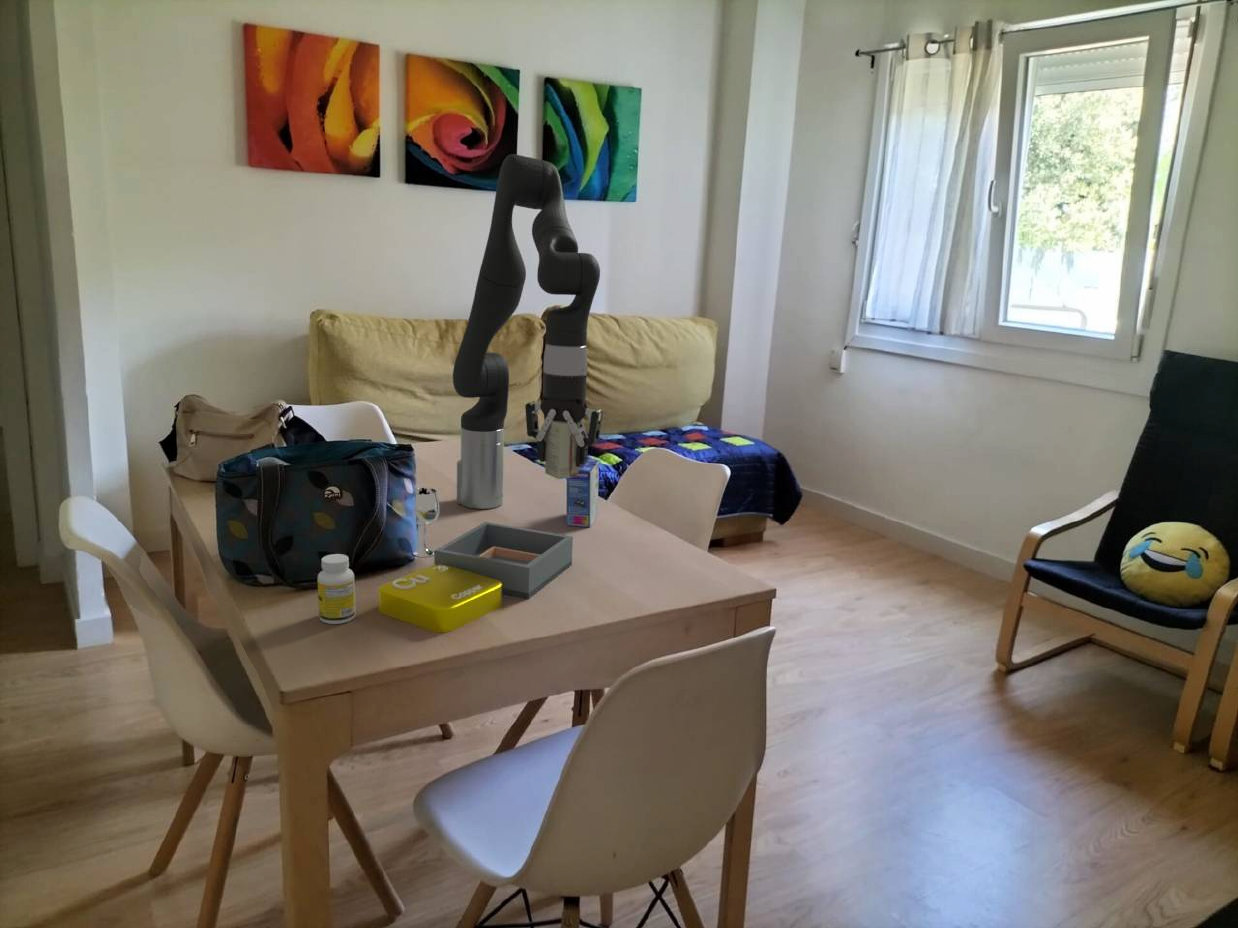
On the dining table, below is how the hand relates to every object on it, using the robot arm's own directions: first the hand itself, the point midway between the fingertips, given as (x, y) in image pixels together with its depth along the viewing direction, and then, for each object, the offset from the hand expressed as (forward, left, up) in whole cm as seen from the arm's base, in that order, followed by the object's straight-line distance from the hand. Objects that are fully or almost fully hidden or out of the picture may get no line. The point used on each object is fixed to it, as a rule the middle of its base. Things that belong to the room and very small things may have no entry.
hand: (561, 463), depth 164 cm
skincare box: (0, 0, -2) cm, 2 cm away
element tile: (-9, -26, -20) cm, 34 cm away
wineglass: (-25, -5, -20) cm, 32 cm away
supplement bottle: (-21, -36, -20) cm, 46 cm away
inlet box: (-7, -7, -19) cm, 22 cm away
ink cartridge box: (-7, +28, -20) cm, 35 cm away
